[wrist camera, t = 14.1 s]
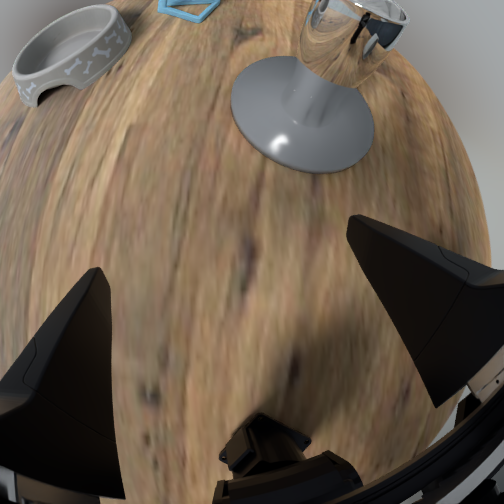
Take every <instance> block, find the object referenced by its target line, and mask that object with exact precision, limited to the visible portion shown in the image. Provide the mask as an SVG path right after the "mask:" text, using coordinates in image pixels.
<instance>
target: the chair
mask: <svg viewBox="0 0 504 504" xmlns="http://www.w3.org/2000/svg"><path fill="white" fill-rule="evenodd" d="M211 3H212V4H211ZM187 4H211V5H210V6H209V7H208V8H206V9H205V10H204V11H203V12H202V13H201V14H200V15H199V16H195V15H192V14H189V13H187V12H184V11H181V10H178V9H174V8H171V7H167V6H173V5H187ZM219 4H220V0H159V3H158V12H159V13H164V14H169V15H172V16H176V17H179V18H182V19H185V20H188V21H191V22H195V23H201V22H202V21H203V20H204V19H205V18H206V17H207V16H208V15H209V14H210V13H211V12H212V11H213V10H214V9H215V8H216V7H217V6H218V5H219Z"/></svg>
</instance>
